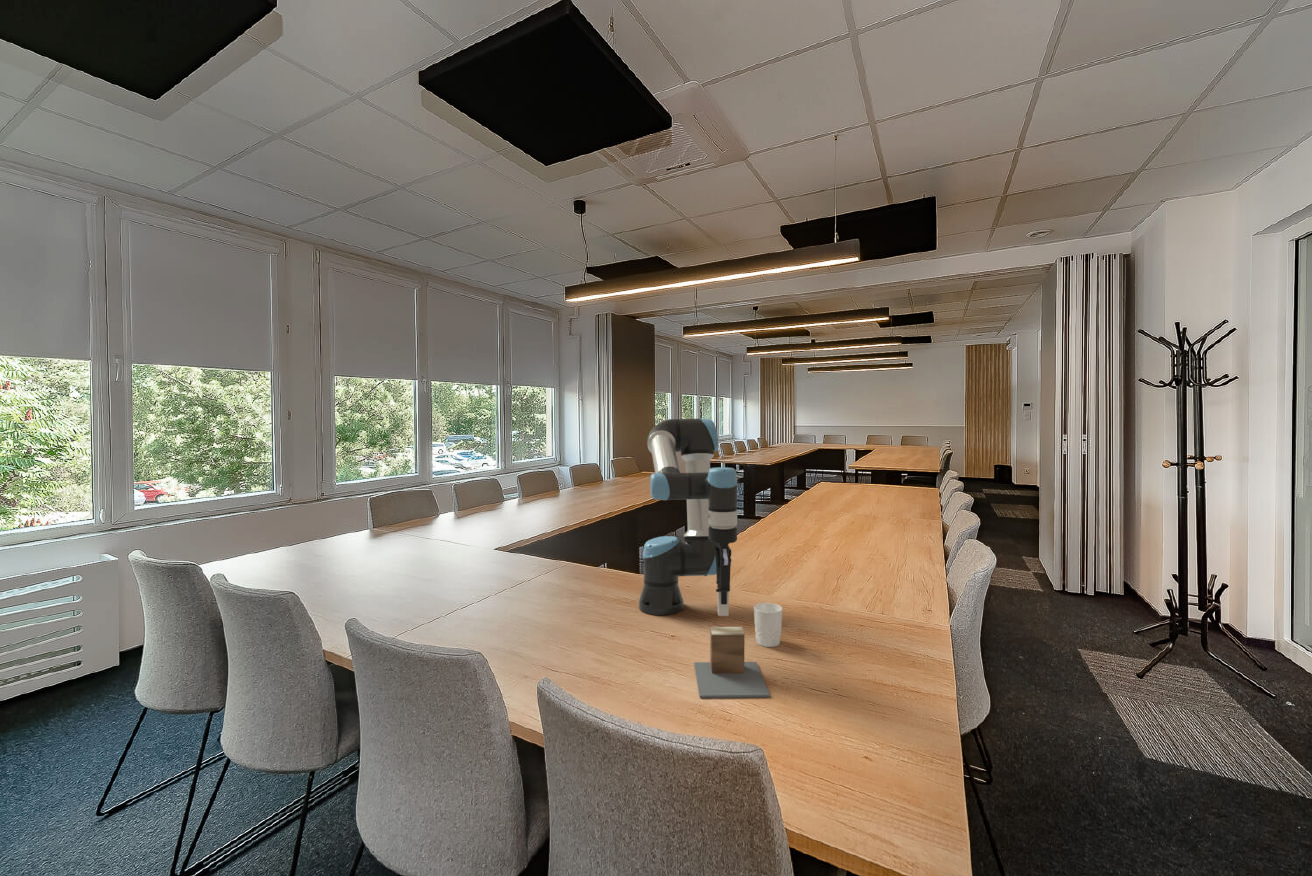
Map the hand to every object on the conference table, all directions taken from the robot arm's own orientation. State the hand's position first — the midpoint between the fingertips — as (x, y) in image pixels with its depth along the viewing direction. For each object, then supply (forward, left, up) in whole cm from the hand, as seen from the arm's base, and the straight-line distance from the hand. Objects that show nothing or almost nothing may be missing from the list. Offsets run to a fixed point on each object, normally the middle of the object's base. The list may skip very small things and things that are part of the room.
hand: (723, 614), depth 135 cm
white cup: (-9, +14, -12) cm, 21 cm away
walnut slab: (+8, 0, -11) cm, 13 cm away
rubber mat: (+12, 0, -12) cm, 16 cm away
